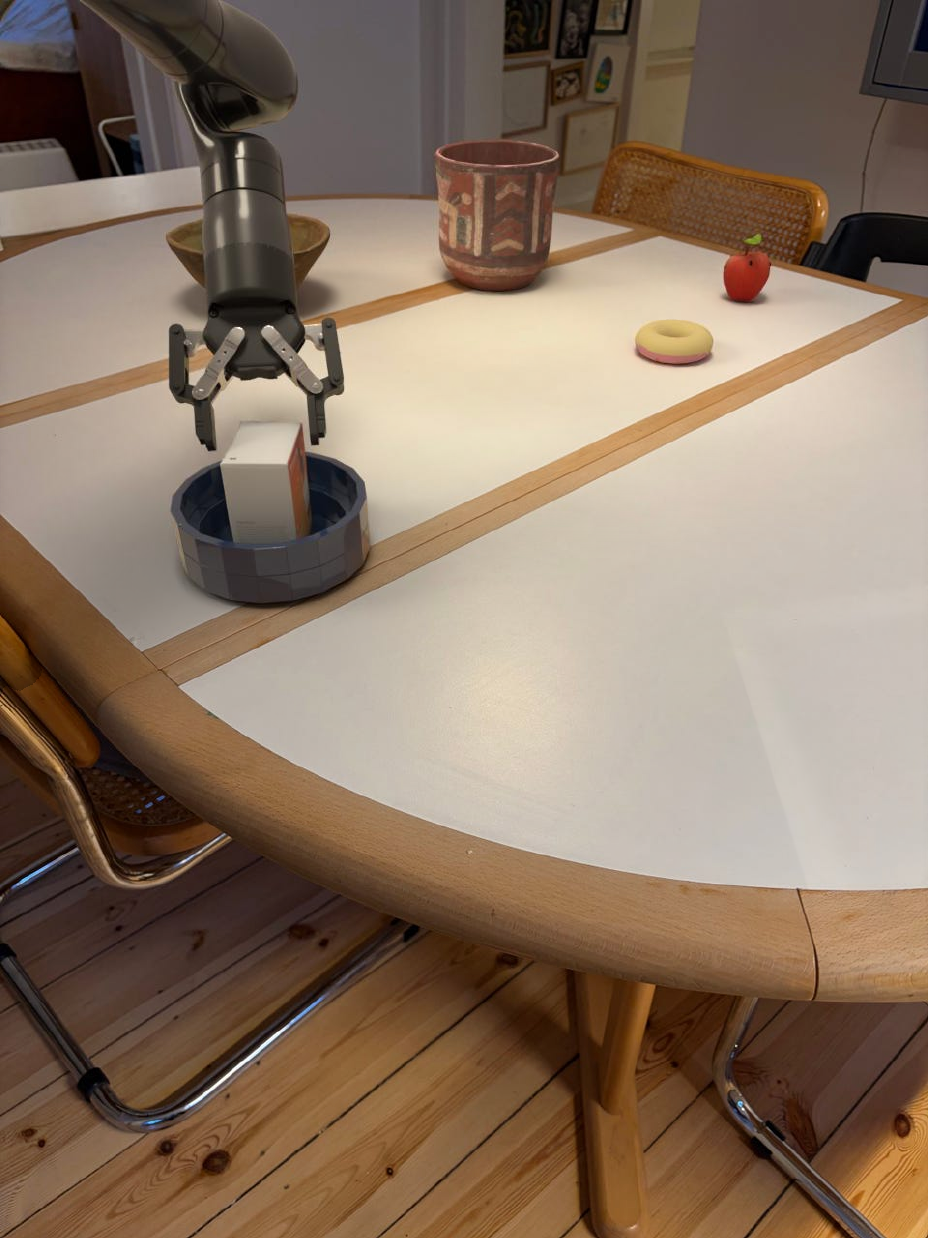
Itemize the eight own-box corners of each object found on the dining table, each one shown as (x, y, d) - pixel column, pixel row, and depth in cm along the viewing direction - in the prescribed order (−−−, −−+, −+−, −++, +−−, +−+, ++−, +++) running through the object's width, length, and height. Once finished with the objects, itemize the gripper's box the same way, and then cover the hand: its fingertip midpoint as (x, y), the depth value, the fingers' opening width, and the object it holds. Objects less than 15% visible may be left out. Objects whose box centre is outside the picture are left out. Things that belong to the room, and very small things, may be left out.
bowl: (293, 268, 148) (287, 200, 142) (360, 312, 133) (356, 239, 126) (157, 292, 138) (144, 221, 132) (212, 342, 123) (200, 265, 117)
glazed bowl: (175, 616, 77) (162, 556, 73) (190, 511, 90) (179, 456, 86) (376, 599, 79) (373, 540, 75) (362, 499, 92) (359, 444, 88)
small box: (300, 572, 81) (288, 464, 75) (236, 571, 81) (218, 463, 75) (314, 523, 87) (303, 419, 81) (254, 522, 88) (239, 418, 81)
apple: (709, 293, 141) (721, 223, 134) (750, 289, 142) (763, 220, 136) (733, 310, 135) (747, 239, 129) (776, 307, 136) (791, 235, 130)
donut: (715, 378, 121) (688, 341, 127) (729, 346, 118) (701, 310, 124) (645, 373, 118) (622, 335, 124) (658, 340, 115) (633, 303, 121)
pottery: (490, 253, 155) (494, 133, 143) (573, 278, 145) (583, 152, 134) (412, 278, 144) (409, 150, 133) (496, 307, 135) (500, 172, 124)
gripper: (153, 241, 75) (166, 436, 73) (332, 235, 77) (349, 425, 75) (171, 286, 82) (183, 464, 80) (334, 279, 84) (349, 453, 82)
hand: (263, 445), depth 78 cm, fingers open, 8 cm apart
